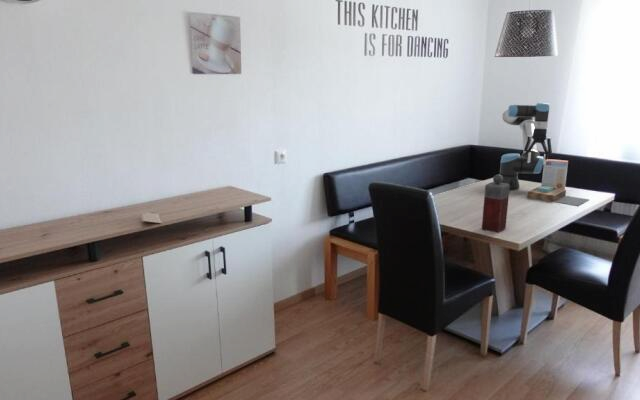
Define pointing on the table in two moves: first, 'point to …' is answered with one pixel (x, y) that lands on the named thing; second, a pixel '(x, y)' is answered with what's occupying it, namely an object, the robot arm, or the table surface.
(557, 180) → the cracker box
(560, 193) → the deck
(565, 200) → the mat
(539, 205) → the table surface
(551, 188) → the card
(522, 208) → the table surface
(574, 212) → the table surface
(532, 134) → the robot arm
